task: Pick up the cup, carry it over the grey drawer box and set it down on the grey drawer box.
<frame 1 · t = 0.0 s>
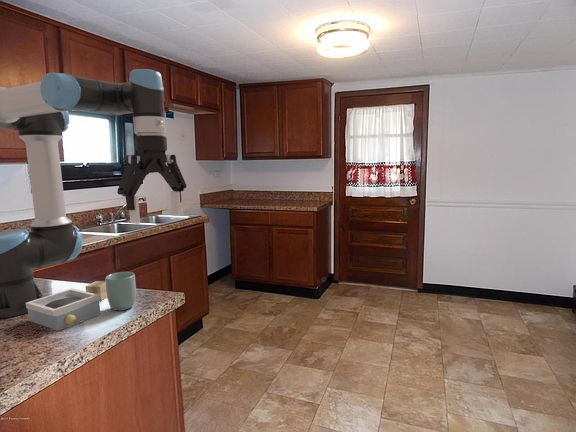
hand: (157, 219, 100), 28 cm above the counter, fingers open, 13 cm apart
cup: (123, 308, 114), on the counter
oak block: (99, 298, 123), on the counter
grey drawer box: (65, 317, 108), on the counter
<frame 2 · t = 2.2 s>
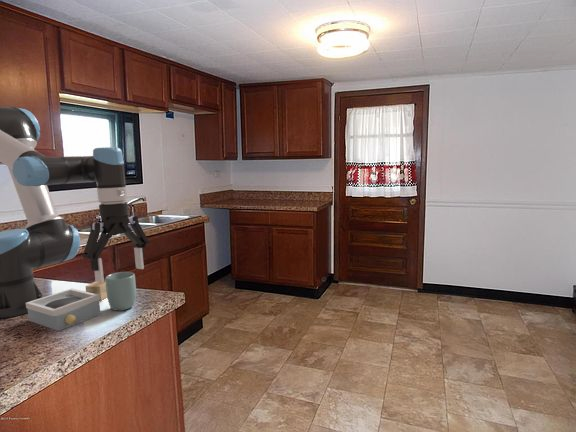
hand: (120, 274, 113), 10 cm above the counter, fingers open, 13 cm apart
nothing on the counter moved.
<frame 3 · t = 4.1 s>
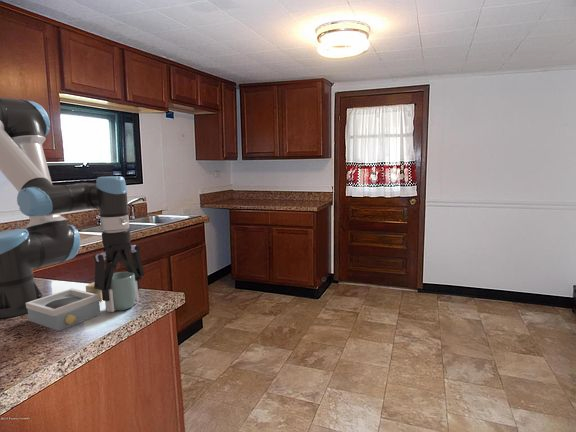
hand: (122, 305, 114), 1 cm above the counter, fingers closed on cup, 8 cm apart
cup: (123, 308, 114), on the counter, touching gripper
everything else where it was.
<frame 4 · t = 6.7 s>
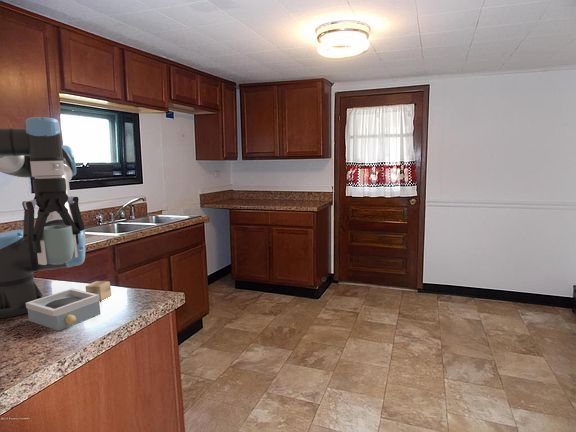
hand: (58, 260, 106), 17 cm above the counter, fingers closed on cup, 8 cm apart
cup: (59, 263, 106), point 16 cm above the counter, touching gripper
everything else where it was.
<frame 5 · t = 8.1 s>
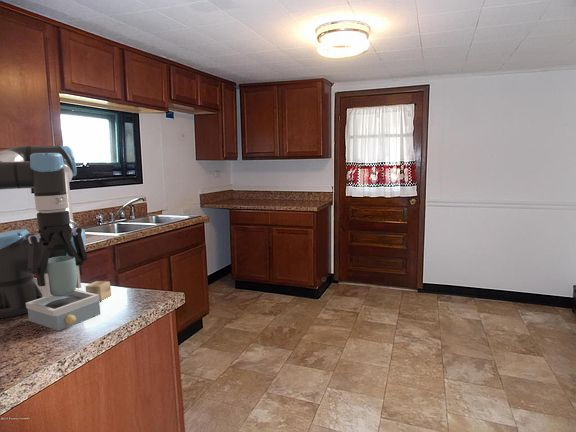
hand: (62, 291, 107), 8 cm above the counter, fingers closed on cup, 8 cm apart
cup: (62, 294, 107), point 7 cm above the counter, touching gripper
everything else where it was.
when the fingers open (6 cm above the counter, at t = 9.4 s): cup stays where it is, resting on grey drawer box.
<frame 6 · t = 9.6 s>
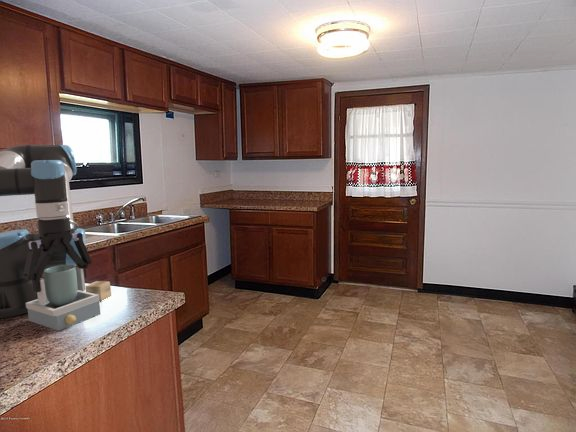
hand: (62, 296, 108), 6 cm above the counter, fingers open, 10 cm apart
cup: (63, 304, 108), point 4 cm above the counter, touching grey drawer box
everything else where it was.
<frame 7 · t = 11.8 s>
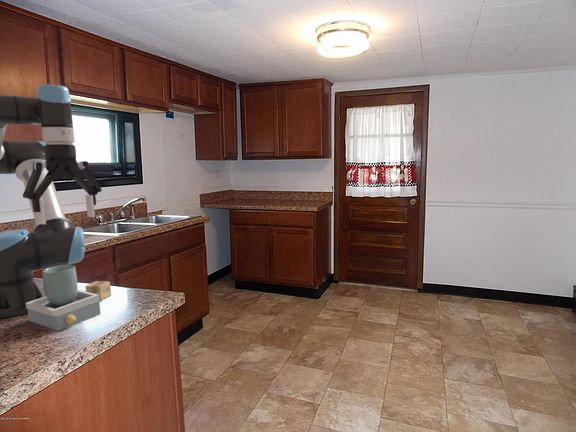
hand: (68, 220, 109), 27 cm above the counter, fingers open, 13 cm apart
nothing on the counter moved.
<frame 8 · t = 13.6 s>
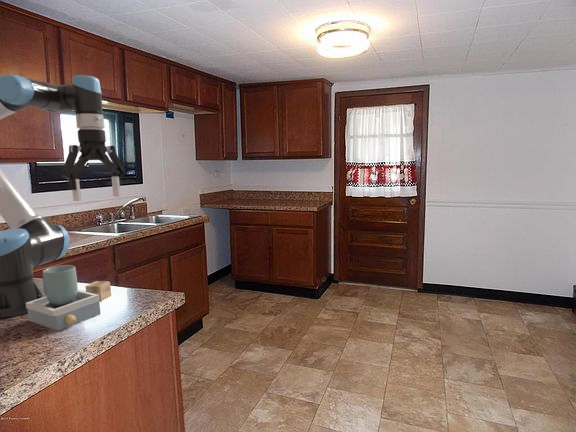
hand: (98, 198, 121), 32 cm above the counter, fingers open, 13 cm apart
nothing on the counter moved.
at the end: cup inside the target area on the grey drawer box (0.1 cm from its centre), point 4.0 cm above the grey drawer box's base; cup tilted 0°; the gripper is holding nothing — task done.
